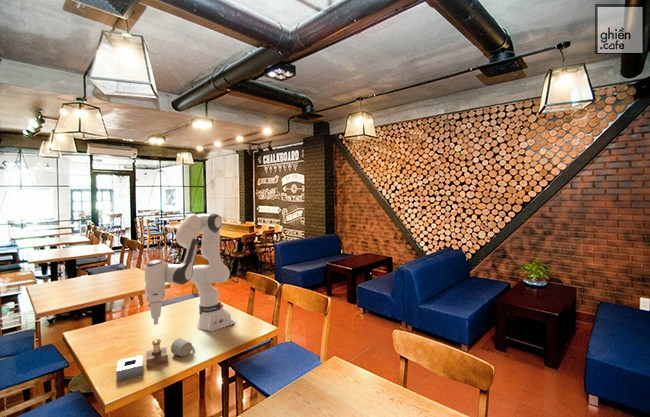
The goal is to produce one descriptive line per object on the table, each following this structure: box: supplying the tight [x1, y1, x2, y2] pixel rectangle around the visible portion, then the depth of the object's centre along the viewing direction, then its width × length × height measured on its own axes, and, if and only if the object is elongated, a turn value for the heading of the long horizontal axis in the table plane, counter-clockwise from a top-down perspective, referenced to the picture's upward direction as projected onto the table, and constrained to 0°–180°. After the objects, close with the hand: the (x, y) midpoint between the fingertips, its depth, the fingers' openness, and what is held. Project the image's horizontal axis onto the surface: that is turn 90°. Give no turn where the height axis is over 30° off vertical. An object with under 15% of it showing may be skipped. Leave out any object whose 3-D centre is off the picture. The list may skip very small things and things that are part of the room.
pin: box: [151, 338, 162, 356], centre depth 153 cm, size 4×4×10 cm
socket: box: [115, 355, 144, 383], centre depth 143 cm, size 10×10×5 cm
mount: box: [145, 346, 168, 368], centre depth 153 cm, size 9×9×4 cm
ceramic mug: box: [170, 337, 195, 358], centre depth 161 cm, size 11×8×8 cm
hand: (155, 320), depth 152 cm, fingers open, 8 cm apart
